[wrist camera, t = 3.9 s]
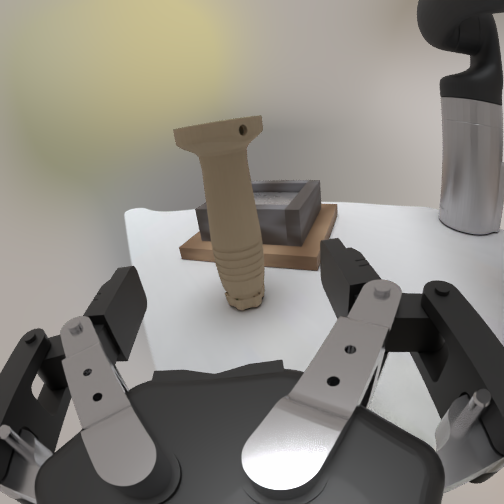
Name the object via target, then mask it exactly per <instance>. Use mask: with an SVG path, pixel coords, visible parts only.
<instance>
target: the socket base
mask: <svg viewBox="0 0 504 504" xmlns="http://www.w3.org/2000/svg"><path fill="white" fill-rule="evenodd" d="M251 183H252V189H253V193H257V192H299V193H298V194H297V195H296V196H295V198H294V199H293V200H292V201H291V202H290V204H289V205H267V204H256V209H257V214H258V220H259V225H260V230H261V235H262V236H261V237H262V243H263V252H264V266H267V267H279V268H291V269H303V270H316V271H317V270H318V267H319V265H320V242H321V240H327V239H329V237H330V234H331V231H332V229H333V226H334V223H335V220H336V217H337V204H321V193H320V180H281V181H251ZM195 210H196V215H197V220H198V225H199V230H200V231H199V232H198V233H197V234H195V235H194V236H193V237H192V238H190V239H189V240H188V241H187V242H185V243H184V244H183V245H182V246H180V247H179V249H180V253H181V257H182V259H189V260H200V261H210V262H215V259H214V254H213V249H212V244H211V237H210V229H209V221H208V213H207V204H206V203H204V204H203V205H201V206H200V207H198V208H196V209H195Z"/></svg>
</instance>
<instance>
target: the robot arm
mask: <svg viewBox="0 0 504 504" xmlns="http://www.w3.org/2000/svg"><path fill="white" fill-rule="evenodd" d="M502 12H504V0H419V2H418V7H417V21H418V26H419V29H420V32H421V34H422V36H423V37H424V39H425V40H426V41H427V42H428V43H429V44H430V45H432V46H433V47H436V48H438V49H441V50H445V51H451V52H456V53H462V54H467V55H470V68H469V69H467V70H466V71H464V72H461V73H458V74H454V75H449V76H445V77H443V78H442V79H441V80H440V95H441V107H442V130H443V131H442V132H443V162H442V185H441V186H442V187H441V199H440V211H439V219H440V220H441V221H442V222H443V223H444V224H446V225H447V226H449V227H451V228H453V229H456V230H459V231H462V232H466V233H471V234H489V233H491V232H499V228H500V222H501V217H502V210H503V203H504V162H502V156H503V113H502V89H503V71H502V62H501V54H500V46H499V39H498V32H497V28H496V24H495V20H494V18H493V15H492V14H493V13H502ZM320 267H321V281H322V285H323V288H324V290H325V292H326V295H327V297H328V299H329V301H330V303H331V306H332V308H333V310H334V312H335V315H336V317H337V319H338V320H337V321H336V323H335V325H334V326H333V328H332V330H331V331H330V333H329V335H328V336H327V338H326V339H325V341H324V343H323V344H322V346H321V347H320V349H319V351H318V352H317V354H316V355H315V357H314V358H313V360H312V361H311V363H310V364H309V366H308V368H307V369H306V371H305V372H302V371H297V370H291V369H284V367H283V361H282V360H276V361H269V362H261V363H253V364H248V365H245V366H241V367H238V368H235V369H231V370H228V371H224V372H221V373H217V374H211V373H203V372H196V371H189V370H167V371H154V374H153V378H152V380H151V381H148V382H145V383H142V384H140V385H137V386H135V387H134V388H132V389H130V390H129V389H128V388H127V386H126V384H125V382H124V380H123V378H122V377H121V375H120V373H119V371H118V369H117V368H116V366H115V364H116V361H128V358H129V355H130V353H131V350H132V347H133V344H134V341H135V339H136V335H137V333H138V330H139V327H140V325H141V322H142V320H143V317H144V314H145V312H146V309H147V299H146V295H145V292H144V289H143V286H142V284H141V281H140V278H139V275H138V272H137V270H136V268H135V267H134V266H129V267H122V268H118V269H117V270H116V271H115V273H114V274H113V276H112V278H111V279H110V280H109V281H108V282H106V283H105V284H104V285H103V286H102V287H101V288H100V290H99V291H98V293H97V295H96V296H95V297H94V299H93V301H92V302H91V304H90V305H89V307H88V309H87V310H86V312H85V314H84V315H83V316H79V317H76V318H73V319H71V320H70V321H68V322H67V323H66V324H65V325H64V326H63V327H62V329H61V331H60V335H58V336H54V337H50V338H48V337H47V335H46V334H45V332H44V330H43V329H34V330H31V331H29V332H27V333H26V334H25V335H24V336H23V337H22V338H21V339H20V341H19V343H18V344H17V346H16V348H15V349H14V351H13V352H12V354H11V356H10V358H9V360H8V361H7V363H6V365H5V366H4V368H3V370H2V372H1V373H0V491H1V492H2V493H4V494H6V495H7V496H9V497H10V498H13V499H15V500H17V501H18V502H20V503H22V504H441V500H442V496H443V493H446V492H448V491H450V490H452V489H455V488H457V487H459V486H461V485H463V484H465V483H467V482H471V483H482V482H484V481H486V480H487V479H489V478H490V477H491V476H493V475H494V474H495V473H497V472H498V471H499V470H500V469H501V468H503V467H504V347H503V345H502V344H501V342H500V341H499V340H498V338H497V337H496V336H495V334H494V333H493V332H492V331H491V329H490V328H489V327H488V325H487V324H486V323H485V322H484V320H483V319H482V318H481V317H480V315H479V314H478V313H477V312H476V310H475V309H474V308H473V307H472V306H471V304H470V303H469V302H468V301H467V300H466V299H465V297H464V296H463V295H462V294H461V293H460V292H459V290H458V289H457V288H456V287H455V286H453V285H452V284H450V283H448V282H445V281H431V282H428V283H427V284H426V285H425V286H424V289H423V294H408V293H402V290H401V288H400V287H399V286H398V285H397V284H395V283H394V282H391V281H388V280H382V279H381V278H380V277H379V275H378V274H377V273H376V272H375V270H374V269H373V268H372V266H371V265H369V263H368V261H367V260H365V258H364V256H363V255H362V254H361V253H360V252H359V251H357V250H355V249H353V248H345V246H344V245H343V244H342V242H341V241H340V240H339V238H335V239H327V240H321V242H320ZM389 352H410V354H411V356H412V358H413V360H414V362H415V364H416V366H417V368H418V370H419V372H420V374H421V376H422V378H423V380H424V382H425V384H426V387H427V389H428V391H429V393H430V395H431V397H432V400H433V402H434V404H435V406H436V409H437V411H438V413H439V416H440V418H441V421H440V423H439V424H438V426H437V428H436V432H435V439H436V444H437V448H436V452H435V450H434V449H433V448H432V447H431V446H430V445H428V444H427V443H426V442H424V441H422V440H421V439H419V438H417V437H415V436H413V435H412V434H410V433H408V432H406V431H405V430H403V429H401V428H399V427H398V426H396V425H394V424H392V423H391V422H389V421H387V420H385V419H384V418H382V417H380V416H379V415H377V414H375V413H374V412H372V411H370V410H369V409H368V408H369V405H370V402H371V400H372V397H373V394H374V391H375V389H376V386H377V384H378V381H379V379H380V376H381V374H382V371H383V369H384V366H385V363H386V360H387V358H388V355H389ZM36 374H38V375H39V377H40V378H41V379H42V381H43V382H44V385H43V388H42V390H41V392H40V394H39V397H38V399H36V398H35V397H34V396H33V394H32V390H31V386H32V382H33V380H34V378H35V376H36ZM71 397H72V400H73V402H74V406H75V408H76V412H77V415H78V417H79V420H80V423H81V426H82V430H81V431H80V432H79V433H78V434H77V435H75V436H74V437H73V438H72V439H71V440H70V441H68V442H67V443H66V444H65V445H64V446H62V447H61V448H60V449H59V450H58V451H56V452H55V453H54V451H55V448H56V444H57V441H58V438H59V434H60V431H61V428H62V425H63V421H64V418H65V415H66V412H67V409H68V406H69V403H70V400H71Z"/></svg>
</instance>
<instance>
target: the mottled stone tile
mask: <svg viewBox="0 0 504 504" xmlns="http://www.w3.org/2000/svg"><path fill="white" fill-rule="evenodd" d="M298 193H299V192H257V193H253V194H254V199H255V204H267V205H289V204H290V202H291V201H292V200H293V199H294V198H295V196H296V195H297V194H298Z"/></svg>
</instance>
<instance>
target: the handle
mask: <svg viewBox="0 0 504 504" xmlns="http://www.w3.org/2000/svg"><path fill="white" fill-rule="evenodd" d="M262 130H263V125H262V117H261V115H259V116H250V117H243V118H235V119H228V120H221V121H215V122H209V123H204V124H198V125H193V126H188V127H183V128H178V129H174V130H173V131H174V137H175V142H176V145H177V146H178V147H180V148H181V149H183V150H186V151H189V152H192V153H195V154H196V155H197V156H198V157H199V160H200V164H201V168H202V173H203V182H204V189H205V197H206V204H207V213H208V221H209V229H210V237H211V244H212V249H213V254H214V259H215V263H216V266H217V270H218V273H219V276H220V279H221V282H222V284H223V287H224V289H225V290H226V291H227V292H226V293H225V295H226V298H227V301H228V303H229V305H231V306H235V307H237V309H238V310H245V309H247V308H251V307H258V306H259V305H260V304H261V303H262V297H263V296H264V290H265V289H264V252H263V243H262V237H261V236H262V235H261V230H260V225H259V220H258V214H257V209H256V204H255V199H254V194H253V189H252V183H251V178H250V173H249V167H248V161H247V147H248V145H249V143H250V142H251V141H252V140H253V139H254V138H256V137H257V136H258V135H259V134H260V133H261V132H262Z"/></svg>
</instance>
